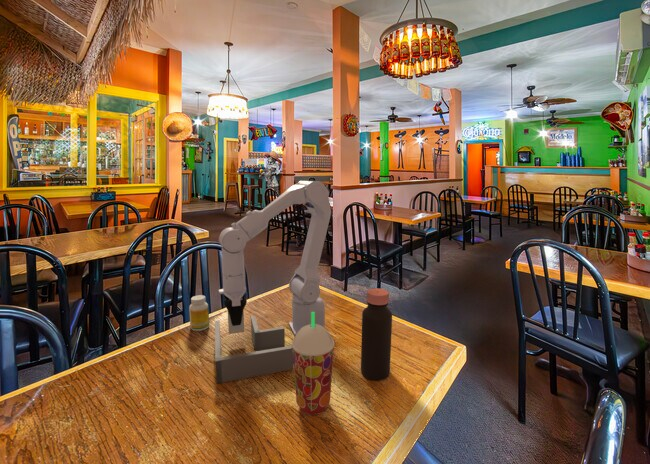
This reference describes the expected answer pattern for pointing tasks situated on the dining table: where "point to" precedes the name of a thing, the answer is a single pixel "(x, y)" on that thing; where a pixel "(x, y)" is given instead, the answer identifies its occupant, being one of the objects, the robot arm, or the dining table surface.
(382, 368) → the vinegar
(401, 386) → the dining table surface
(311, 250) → the robot arm
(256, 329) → the rails
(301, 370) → the smoothie
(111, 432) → the dining table surface
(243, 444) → the dining table surface
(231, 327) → the block
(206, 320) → the supplement bottle
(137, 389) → the dining table surface
